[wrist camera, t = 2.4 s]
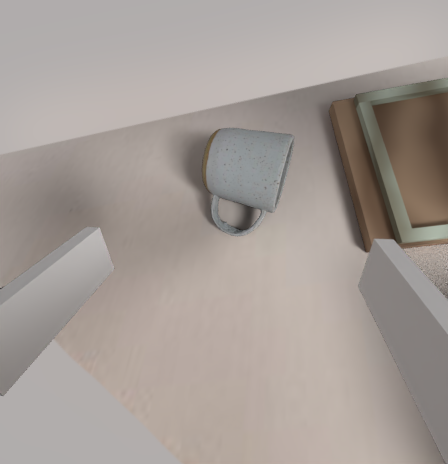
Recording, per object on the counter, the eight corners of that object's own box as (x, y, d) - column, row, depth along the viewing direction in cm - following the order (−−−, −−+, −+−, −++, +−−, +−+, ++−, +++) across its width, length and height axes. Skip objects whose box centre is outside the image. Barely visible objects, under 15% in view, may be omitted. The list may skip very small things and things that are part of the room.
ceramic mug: (225, 151, 29) (214, 104, 22) (290, 163, 28) (301, 118, 20) (199, 228, 27) (178, 206, 20) (267, 247, 26) (270, 230, 18)
